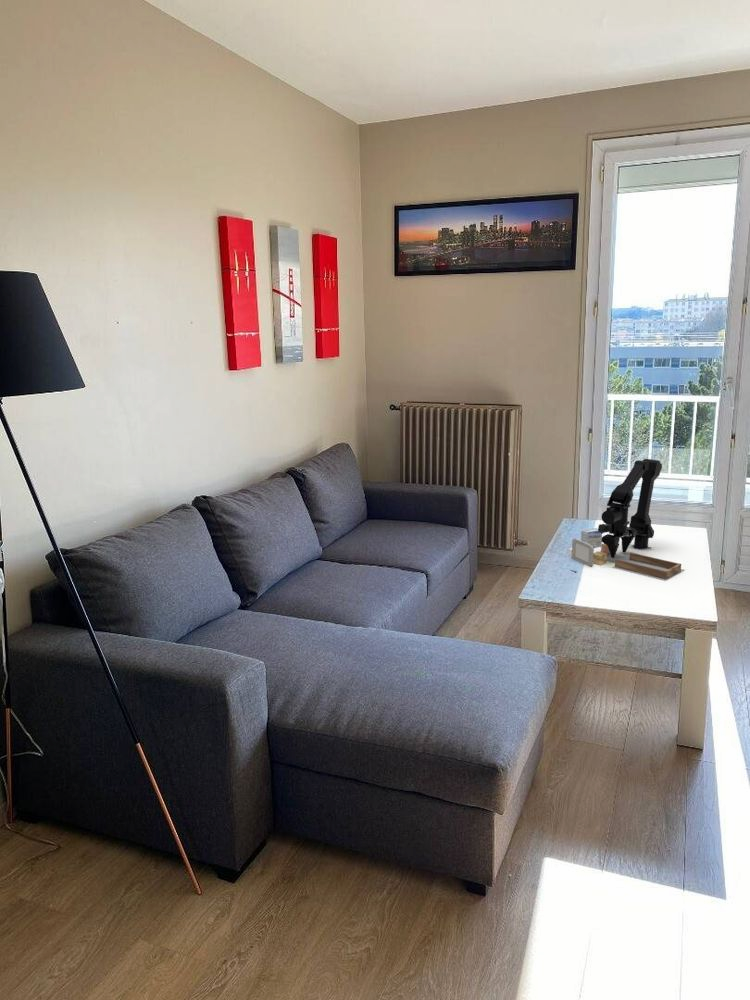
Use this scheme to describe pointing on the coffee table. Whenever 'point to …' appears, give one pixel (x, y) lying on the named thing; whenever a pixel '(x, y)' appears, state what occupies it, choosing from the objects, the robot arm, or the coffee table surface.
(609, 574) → the coffee table surface
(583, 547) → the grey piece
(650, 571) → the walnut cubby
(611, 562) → the slate board
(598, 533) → the medicine box
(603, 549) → the peach dome
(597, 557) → the oak block
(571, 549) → the cream cube
